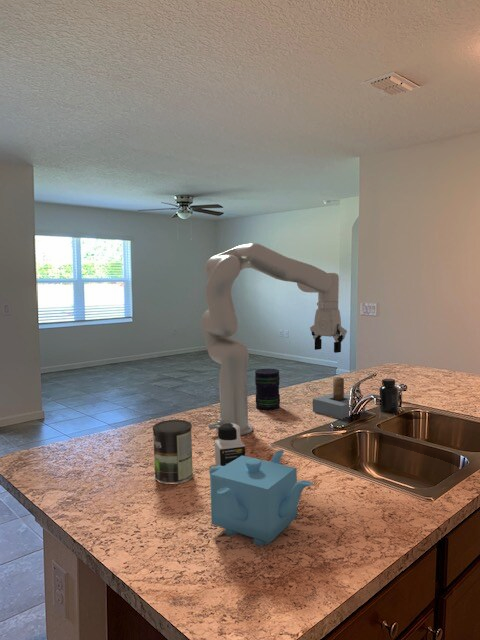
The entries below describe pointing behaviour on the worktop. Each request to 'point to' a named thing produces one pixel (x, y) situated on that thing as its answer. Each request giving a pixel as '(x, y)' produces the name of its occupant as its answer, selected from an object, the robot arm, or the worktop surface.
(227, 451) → the medicine bottle
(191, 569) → the worktop surface
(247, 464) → the teakettle
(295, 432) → the worktop surface
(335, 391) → the peg
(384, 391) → the supplement bottle
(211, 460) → the worktop surface
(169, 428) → the coffee can
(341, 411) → the socket
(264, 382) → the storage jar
